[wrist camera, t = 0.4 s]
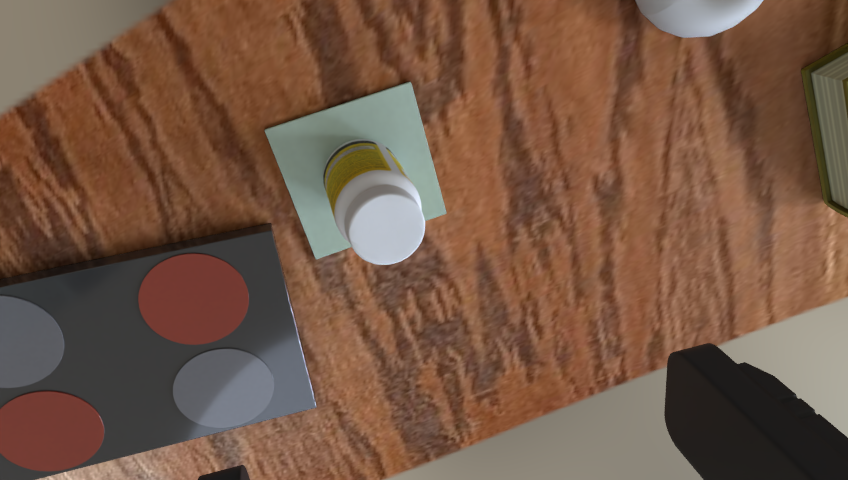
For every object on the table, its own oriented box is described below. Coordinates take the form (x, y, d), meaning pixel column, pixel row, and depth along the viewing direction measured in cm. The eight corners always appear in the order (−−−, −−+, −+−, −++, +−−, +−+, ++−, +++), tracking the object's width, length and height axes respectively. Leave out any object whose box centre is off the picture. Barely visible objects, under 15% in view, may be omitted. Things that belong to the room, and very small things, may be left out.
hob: (-119, 303, 37) (-131, 315, 36) (271, 222, 40) (271, 231, 39) (-14, 480, 43) (-21, 495, 42) (315, 397, 47) (316, 408, 45)
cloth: (264, 129, 38) (264, 130, 38) (410, 81, 39) (410, 81, 38) (315, 258, 42) (315, 259, 42) (445, 212, 43) (446, 213, 43)
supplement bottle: (309, 191, 40) (323, 251, 32) (344, 123, 38) (367, 170, 31) (376, 221, 42) (404, 284, 34) (412, 157, 40) (449, 209, 33)
